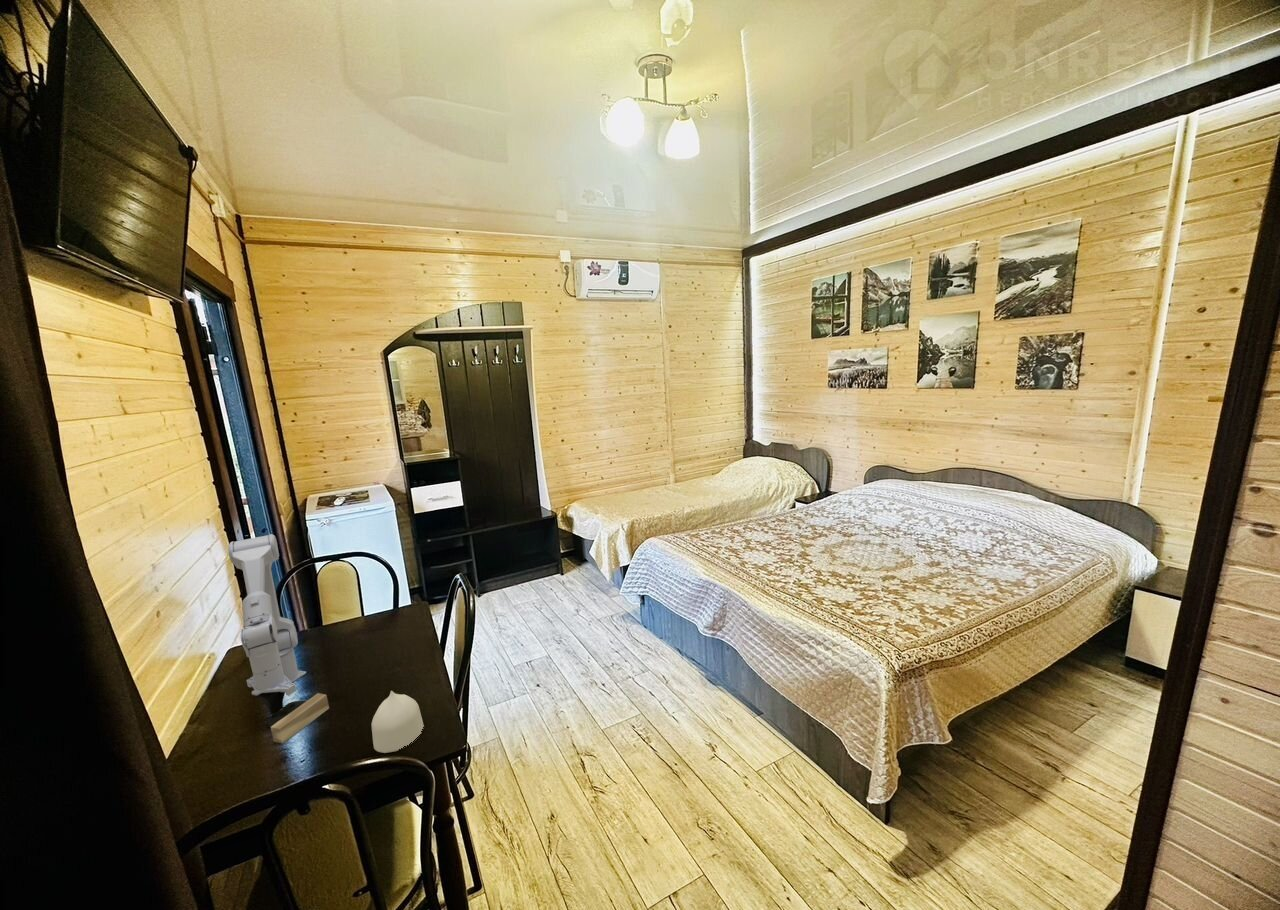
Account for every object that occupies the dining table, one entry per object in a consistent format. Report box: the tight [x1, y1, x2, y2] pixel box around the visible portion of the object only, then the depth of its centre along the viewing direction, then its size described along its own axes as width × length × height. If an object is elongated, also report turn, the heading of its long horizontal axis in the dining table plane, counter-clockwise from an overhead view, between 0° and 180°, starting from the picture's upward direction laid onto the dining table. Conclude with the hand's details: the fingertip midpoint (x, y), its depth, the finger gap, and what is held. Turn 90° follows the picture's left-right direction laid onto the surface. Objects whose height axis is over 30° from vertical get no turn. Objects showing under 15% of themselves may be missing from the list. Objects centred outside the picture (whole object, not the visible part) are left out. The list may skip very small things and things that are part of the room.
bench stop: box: [270, 692, 330, 745], centre depth 115 cm, size 3×12×4 cm, turn 163°
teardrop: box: [371, 690, 425, 754], centre depth 109 cm, size 11×11×12 cm
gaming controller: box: [267, 700, 307, 728], centre depth 117 cm, size 10×5×6 cm
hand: (277, 713), depth 118 cm, fingers closed, pressing on gaming controller
